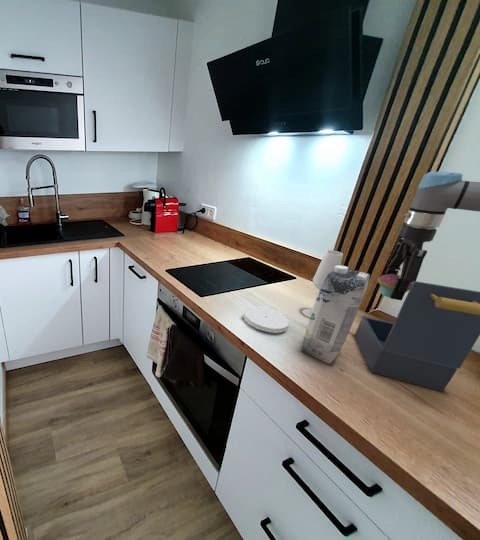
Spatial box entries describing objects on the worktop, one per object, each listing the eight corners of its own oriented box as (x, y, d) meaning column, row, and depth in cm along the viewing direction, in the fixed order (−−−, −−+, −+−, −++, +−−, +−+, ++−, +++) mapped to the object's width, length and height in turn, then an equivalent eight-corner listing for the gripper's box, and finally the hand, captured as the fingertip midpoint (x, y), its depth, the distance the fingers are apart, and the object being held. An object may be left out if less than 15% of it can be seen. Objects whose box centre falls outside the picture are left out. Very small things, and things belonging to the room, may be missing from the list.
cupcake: (414, 302, 90) (431, 267, 85) (384, 300, 91) (399, 265, 86) (394, 290, 98) (409, 257, 93) (367, 288, 99) (380, 256, 94)
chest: (354, 335, 93) (362, 316, 90) (412, 348, 87) (422, 329, 84) (371, 372, 77) (381, 350, 75) (442, 391, 72) (457, 369, 69)
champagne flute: (326, 320, 101) (350, 257, 91) (305, 317, 102) (327, 254, 92) (319, 310, 107) (341, 250, 97) (299, 308, 108) (319, 248, 98)
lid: (413, 280, 68) (426, 290, 62) (500, 295, 62) (522, 307, 57) (382, 348, 75) (390, 362, 69) (457, 366, 69) (473, 383, 64)
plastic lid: (234, 314, 102) (235, 308, 101) (266, 310, 106) (268, 304, 105) (261, 338, 90) (263, 331, 89) (297, 332, 94) (299, 325, 93)
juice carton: (341, 351, 85) (376, 268, 74) (332, 368, 78) (369, 280, 68) (307, 337, 91) (335, 259, 80) (297, 352, 84) (325, 268, 73)
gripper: (391, 217, 96) (367, 278, 105) (419, 232, 78) (387, 304, 87) (420, 220, 93) (393, 282, 102) (456, 236, 75) (419, 310, 84)
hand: (390, 292), depth 94 cm, fingers closed on cupcake, 9 cm apart
